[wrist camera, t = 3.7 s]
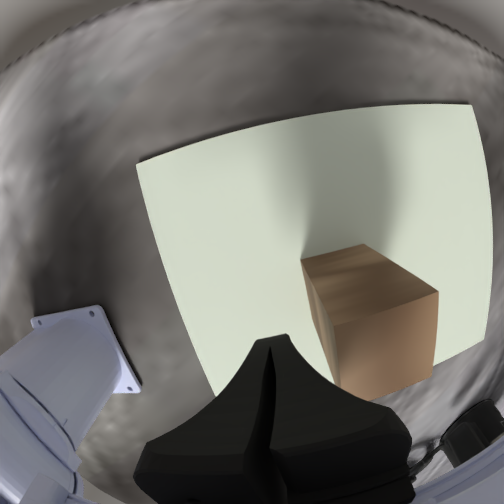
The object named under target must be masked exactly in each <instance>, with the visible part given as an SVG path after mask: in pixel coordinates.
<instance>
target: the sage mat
mask: <svg viewBox="0 0 504 504" xmlns="http://www.w3.org/2000/svg"><path fill="white" fill-rule="evenodd" d="M136 168H137V173H138V177H139V181H140V185H141V189H142V193H143V197H144V200H145V204H146V208H147V212H148V215H149V219H150V222H151V226H152V229H153V233H154V236H155V239H156V243H157V246H158V249H159V252H160V255H161V259H162V262H163V265H164V268H165V271H166V274H167V277H168V280H169V283H170V285H171V288H172V291H173V294H174V297H175V299H176V302H177V305H178V308H179V310H180V313H181V316H182V318H183V321H184V323H185V326H186V329H187V331H188V334H189V336H190V339H191V341H192V344H193V346H194V348H195V351H196V353H197V356H198V358H199V360H200V363H201V365H202V367H203V370H204V372H205V374H206V376H207V379H208V381H209V383H210V385H211V387H212V389H213V392H214V394H215V396H216V397H217V396H218V394H219V393H220V392H221V391H222V390H223V389H224V388H225V387H226V386H227V384H228V383H229V382H230V380H231V379H232V378H233V376H234V375H235V374H236V372H237V371H238V369H239V368H240V366H241V365H242V363H243V361H244V360H245V358H246V357H247V355H248V353H249V351H250V349H251V348H252V346H253V344H254V342H255V341H256V340H257V339H262V338H267V337H271V336H276V335H281V334H285V333H286V334H288V335H289V336H290V339H291V341H292V343H293V344H294V346H295V347H296V349H297V350H298V352H299V353H300V354H301V355H302V356H303V357H304V359H305V360H306V361H307V362H308V363H309V364H310V365H311V366H312V367H313V368H314V369H315V370H316V371H318V372H319V373H320V374H321V375H322V376H324V377H325V378H326V379H328V380H329V381H330V382H332V383H333V384H335V383H334V380H333V377H332V374H331V372H330V369H329V366H328V363H327V360H326V357H325V354H324V351H323V348H322V346H321V343H320V340H319V337H318V334H317V332H316V329H315V326H314V323H313V321H312V316H311V311H310V306H309V301H308V296H307V291H306V286H305V281H304V276H303V272H302V267H301V262H300V260H301V259H305V258H309V257H313V256H317V255H321V254H325V253H329V252H333V251H337V250H341V249H344V248H348V247H352V246H356V245H360V244H365V245H367V246H368V247H370V248H372V249H373V250H375V251H377V252H378V253H380V254H382V255H383V256H385V257H387V258H388V259H390V260H391V261H393V262H395V263H396V264H398V265H399V266H401V267H403V268H404V269H406V270H407V271H409V272H411V273H412V274H414V275H415V276H417V277H418V278H420V279H421V280H423V281H424V282H426V283H427V284H429V285H430V286H432V287H433V288H435V289H436V290H438V291H439V307H438V325H437V337H436V347H435V355H434V362H433V366H434V365H436V364H438V363H440V362H442V361H444V360H446V359H448V358H450V357H452V356H454V355H456V354H458V353H460V352H462V351H464V350H466V349H468V348H469V347H471V346H473V345H475V344H477V343H478V342H480V341H482V340H483V339H484V335H485V330H486V324H487V317H488V310H489V302H490V293H491V281H492V262H493V230H492V211H491V199H490V190H489V182H488V175H487V169H486V163H485V157H484V152H483V147H482V143H481V138H480V134H479V130H478V126H477V122H476V119H475V115H474V112H473V108H472V105H457V104H411V105H391V106H378V107H367V108H357V109H349V110H341V111H333V112H327V113H320V114H314V115H308V116H303V117H297V118H292V119H287V120H282V121H277V122H273V123H268V124H264V125H259V126H255V127H251V128H247V129H243V130H239V131H235V132H232V133H228V134H224V135H221V136H217V137H214V138H211V139H207V140H204V141H201V142H198V143H194V144H191V145H188V146H185V147H182V148H179V149H176V150H173V151H171V152H168V153H165V154H162V155H159V156H157V157H154V158H151V159H149V160H146V161H144V162H141V163H138V164H136Z"/></svg>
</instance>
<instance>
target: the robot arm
mask: <svg viewBox="0 0 504 504" xmlns="http://www.w3.org/2000/svg"><path fill="white" fill-rule="evenodd" d="M92 311H93V312H94V314H93V313H92ZM31 323H32V326H33V328H34V330H33V331H32V332H31V333H29V334H28V335H27V336H25V337H24V338H23V339H21V340H20V341H19V342H18V343H16V344H15V345H14V346H12V347H11V348H10V349H9V350H7V351H6V352H5V353H4V354H2V355H1V356H0V504H99V503H96V502H93V501H90V500H88V499H85V498H83V493H84V487H83V486H84V485H83V480H82V478H81V476H80V474H79V473H78V471H77V469H78V467H79V465H80V463H81V462H82V461H81V459H80V458H79V457H78V456H77V455H76V453H75V451H76V450H77V448H78V446H79V445H80V443H81V442H82V440H83V438H84V437H85V435H86V434H87V432H88V430H89V429H90V427H91V426H92V424H93V422H94V421H95V419H96V418H97V416H98V415H99V413H100V411H101V410H102V408H103V407H104V405H105V404H106V402H107V401H108V399H109V398H110V396H111V394H112V393H139V392H140V391H141V390H142V387H141V385H140V383H139V381H138V380H137V378H136V376H135V374H134V372H133V371H132V369H131V367H130V365H129V363H128V361H127V359H126V357H125V355H124V353H123V351H122V349H121V347H120V345H119V343H118V341H117V339H116V337H115V335H114V333H113V330H112V328H111V326H110V324H109V322H108V319H107V317H106V315H105V312H104V310H103V308H102V307H101V306H99V305H93V306H88V307H83V308H78V309H73V310H68V311H63V312H58V313H53V314H48V315H42V316H37V317H33V318H32V319H31ZM411 445H412V437H411V435H410V433H409V431H408V429H407V428H406V426H405V425H404V423H403V422H402V421H401V419H400V418H399V417H398V416H397V415H396V413H395V412H394V411H393V410H392V409H391V408H389V407H386V406H382V405H379V404H376V403H372V402H369V401H366V400H364V399H361V398H359V397H356V396H354V395H353V394H351V393H349V392H347V391H345V390H343V389H341V388H340V387H338V386H336V385H335V384H333V383H332V382H330V381H329V380H328V379H326V378H325V377H324V376H322V375H321V374H320V373H319V372H318V371H316V370H315V369H314V368H313V367H312V366H311V365H310V364H309V363H308V362H307V361H306V360H305V359H304V357H303V356H302V355H301V354H300V353H299V352H298V350H297V349H296V347H295V346H294V344H293V343H292V341H291V339H290V336H289V335H288V334H286V333H285V334H281V335H276V336H271V337H267V338H262V339H257V340H256V341H255V342H254V344H253V346H252V348H251V349H250V351H249V353H248V355H247V357H246V358H245V360H244V361H243V363H242V365H241V366H240V368H239V369H238V371H237V372H236V374H235V375H234V376H233V378H232V379H231V380H230V382H229V383H228V384H227V386H226V387H225V388H224V389H223V390H222V391H221V392H220V393H219V394H218V396H217V397H216V398H215V399H214V400H212V401H211V402H210V403H209V404H208V405H207V406H206V407H204V408H203V409H202V410H201V411H200V412H198V413H197V414H196V415H195V416H193V417H192V418H190V419H189V420H188V421H186V422H185V423H183V424H181V425H180V426H178V427H177V428H175V429H173V430H171V431H170V432H168V433H166V434H164V435H162V436H160V437H158V438H156V439H153V440H151V441H149V442H147V443H146V445H145V447H144V449H143V451H142V454H141V456H140V459H139V461H138V464H137V466H136V469H135V472H134V475H133V478H134V481H135V483H136V484H137V485H138V486H139V487H140V489H141V490H143V491H144V492H145V493H146V494H147V495H148V496H150V497H151V498H152V499H153V500H154V501H156V502H157V503H158V504H504V436H502V437H501V438H500V439H498V440H497V441H496V442H494V443H493V444H492V445H490V446H489V447H487V448H486V449H485V450H483V451H482V452H480V453H479V454H477V455H476V456H474V457H473V458H471V459H469V460H468V461H466V462H465V463H463V464H461V465H460V466H458V467H456V468H454V469H453V470H451V471H449V472H447V473H445V474H444V475H442V476H440V477H438V478H436V479H434V480H432V481H430V482H428V483H426V484H423V485H421V486H419V487H417V488H415V489H414V488H413V485H412V483H411V480H410V478H409V476H408V475H410V470H409V467H408V465H407V463H406V461H407V458H408V455H409V452H410V449H411Z"/></svg>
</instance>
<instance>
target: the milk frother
mask: <svg viewBox="0 0 504 504" xmlns="http://www.w3.org/2000/svg"><path fill="white" fill-rule="evenodd" d="M502 436H504V418H503V417H502V415H501V413H500V412H499V410H498V409H497V408H496V407H495V406H494V402H493V401H492V400H490V399H489V400H485V401H482V402H480V403H479V404H477V405H476V406H474V407H473V408H471V409H470V410H469V411H467V412H466V413H465V414H464V415H462V416H461V418H460V419H458V420H457V421H456V422H455V423H454V424H453V425H452V426H451V427H450V428H449V429H448V431H447V432H446V433H445V434H444V436H443V438H442V439H441V441H440V444H439V446H438V447H437V448H435V449H434V450H433V451H432V452H431V453H429V454H428V455H427V456H426V457H425V458H424V459H422V460H421V461H420V462H418V463H417V464H416V465H414V466H413V467H412V468H411V469H409V470H410V475H408V476H409V478H410V480H411V483H413V482H414V481H415V480H416V479H417V478H416V475H417V474H418V473H419V472H421V471H422V470H423V469H424V468H425V467H426V466H427V465H428V464H429V463H430V462H431V461H432V459H433V456H434V455H435V454H436V453H437V452H438V451H439V450H440V449H441V450H442V451H444V453H445V454H446V456H447V457H448V459H449V460H450V462H451V464H452V465H453V467H454V468H456V467H458V466H460V465H461V464H463V463H465V462H466V461H468V460H469V459H471V458H473V457H474V456H476V455H477V454H479V453H480V452H482V451H483V450H485V449H486V448H487V447H489V446H490V445H492V444H493V443H494V442H496V441H497V440H498V439H500V438H501V437H502Z"/></svg>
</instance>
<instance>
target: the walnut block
mask: <svg viewBox="0 0 504 504" xmlns="http://www.w3.org/2000/svg"><path fill="white" fill-rule="evenodd" d="M300 262H301V267H302V272H303V276H304V281H305V286H306V291H307V296H308V301H309V306H310V311H311V316H312V321H313V323H314V326H315V329H316V332H317V334H318V337H319V340H320V343H321V346H322V348H323V351H324V354H325V357H326V360H327V363H328V366H329V369H330V372H331V374H332V377H333V380H334V383H335V385H336V386H338V387H340V388H341V389H343V390H345V391H347V392H349V393H351V394H353V395H354V396H356V397H359V398H361V399H364V400H366V401H370V400H373V399H376V398H379V397H382V396H385V395H387V394H390V393H393V392H395V391H398V390H400V389H403V388H405V387H408V386H410V385H413V384H415V383H417V382H420V381H422V380H424V379H427V378H429V377H431V376H432V369H433V362H434V355H435V347H436V337H437V325H438V307H439V291H438V290H436V289H435V288H433V287H432V286H430V285H429V284H427V283H426V282H424V281H423V280H421V279H420V278H418V277H417V276H415V275H414V274H412V273H411V272H409V271H407V270H406V269H404V268H403V267H401V266H399V265H398V264H396V263H395V262H393V261H391V260H390V259H388V258H387V257H385V256H383V255H382V254H380V253H378V252H377V251H375V250H373V249H372V248H370V247H368V246H367V245H365V244H360V245H356V246H352V247H348V248H344V249H341V250H337V251H333V252H329V253H325V254H321V255H317V256H313V257H309V258H305V259H301V260H300Z"/></svg>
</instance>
